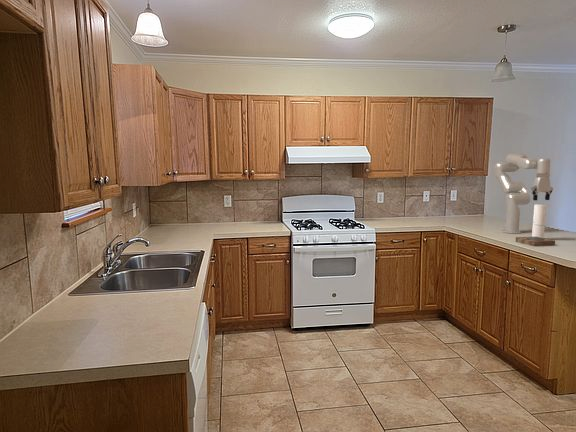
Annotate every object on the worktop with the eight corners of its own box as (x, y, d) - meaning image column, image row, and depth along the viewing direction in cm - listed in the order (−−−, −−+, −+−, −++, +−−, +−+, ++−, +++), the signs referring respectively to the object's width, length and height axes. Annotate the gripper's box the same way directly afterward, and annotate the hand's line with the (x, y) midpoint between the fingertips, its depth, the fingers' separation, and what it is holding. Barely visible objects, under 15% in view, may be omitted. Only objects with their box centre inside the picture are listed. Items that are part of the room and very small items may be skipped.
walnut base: (515, 241, 261) (515, 236, 261) (535, 240, 264) (536, 235, 263) (533, 246, 246) (534, 241, 245) (554, 245, 248) (555, 240, 248)
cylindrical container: (538, 238, 272) (541, 204, 269) (545, 240, 265) (548, 205, 262) (529, 238, 272) (532, 204, 268) (536, 240, 265) (538, 205, 261)
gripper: (549, 175, 267) (547, 199, 269) (527, 176, 264) (526, 200, 267) (558, 176, 260) (556, 200, 262) (536, 176, 257) (534, 200, 259)
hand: (541, 200), depth 264 cm, fingers open, 9 cm apart
